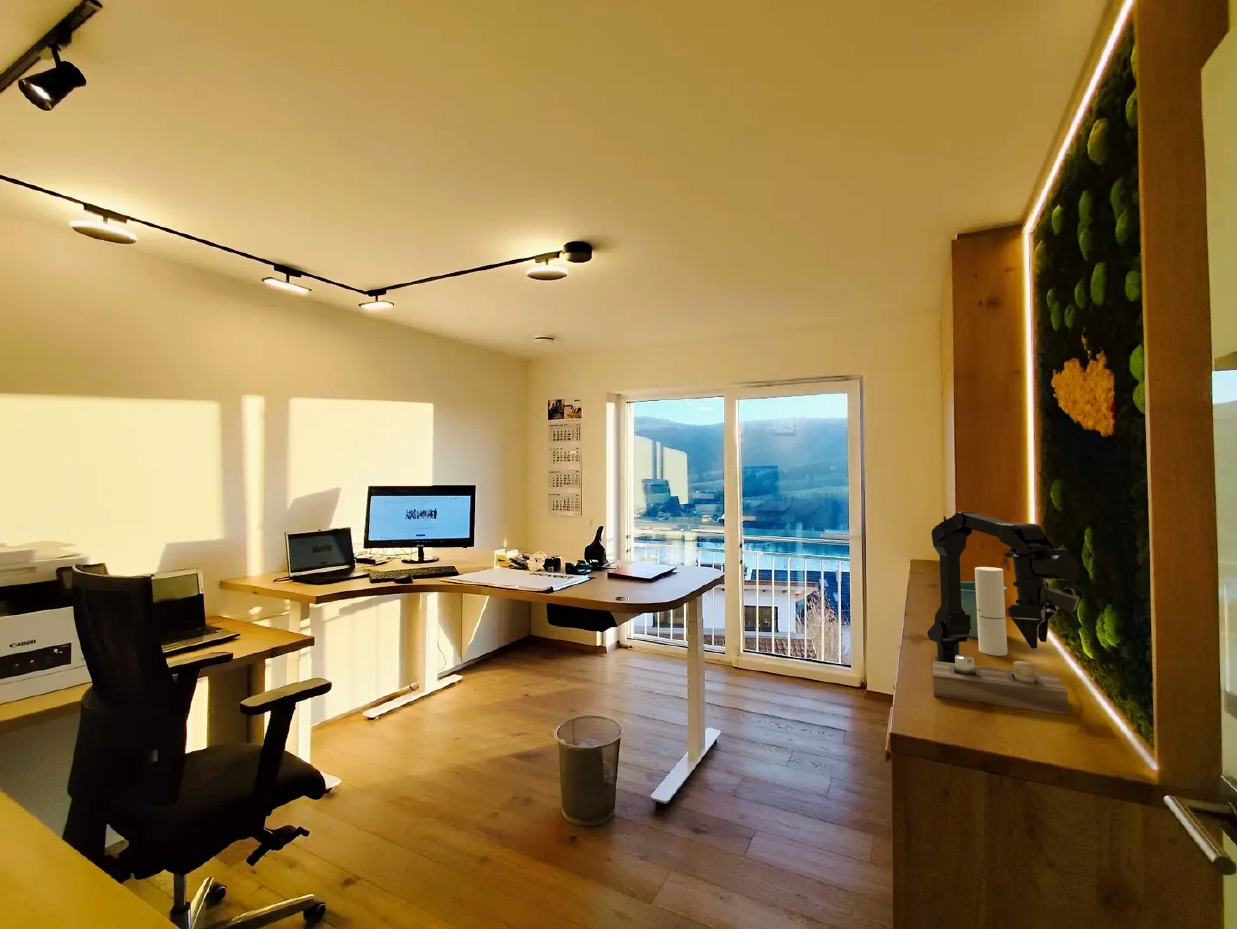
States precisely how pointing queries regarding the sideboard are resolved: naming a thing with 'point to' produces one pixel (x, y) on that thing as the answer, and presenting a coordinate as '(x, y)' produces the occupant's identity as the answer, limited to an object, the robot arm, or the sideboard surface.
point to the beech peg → (1024, 672)
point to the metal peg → (964, 665)
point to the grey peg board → (1001, 688)
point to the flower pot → (971, 605)
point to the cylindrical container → (991, 610)
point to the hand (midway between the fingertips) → (1038, 645)
